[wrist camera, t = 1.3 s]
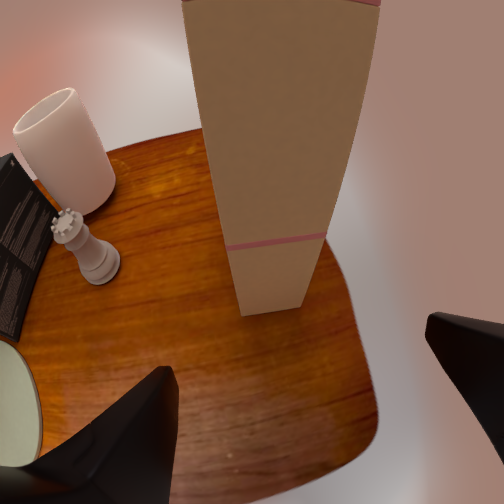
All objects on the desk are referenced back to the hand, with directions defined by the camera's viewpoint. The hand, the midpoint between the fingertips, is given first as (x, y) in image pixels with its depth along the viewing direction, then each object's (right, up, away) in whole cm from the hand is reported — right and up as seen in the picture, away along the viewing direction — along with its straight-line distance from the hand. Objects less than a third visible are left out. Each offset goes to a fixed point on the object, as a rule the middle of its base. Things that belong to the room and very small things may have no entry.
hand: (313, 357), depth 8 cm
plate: (-30, -14, +9) cm, 34 cm away
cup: (-22, +10, +23) cm, 33 cm away
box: (-30, +1, +17) cm, 35 cm away
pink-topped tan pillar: (-1, 0, +16) cm, 16 cm away
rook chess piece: (-17, +2, +17) cm, 24 cm away
